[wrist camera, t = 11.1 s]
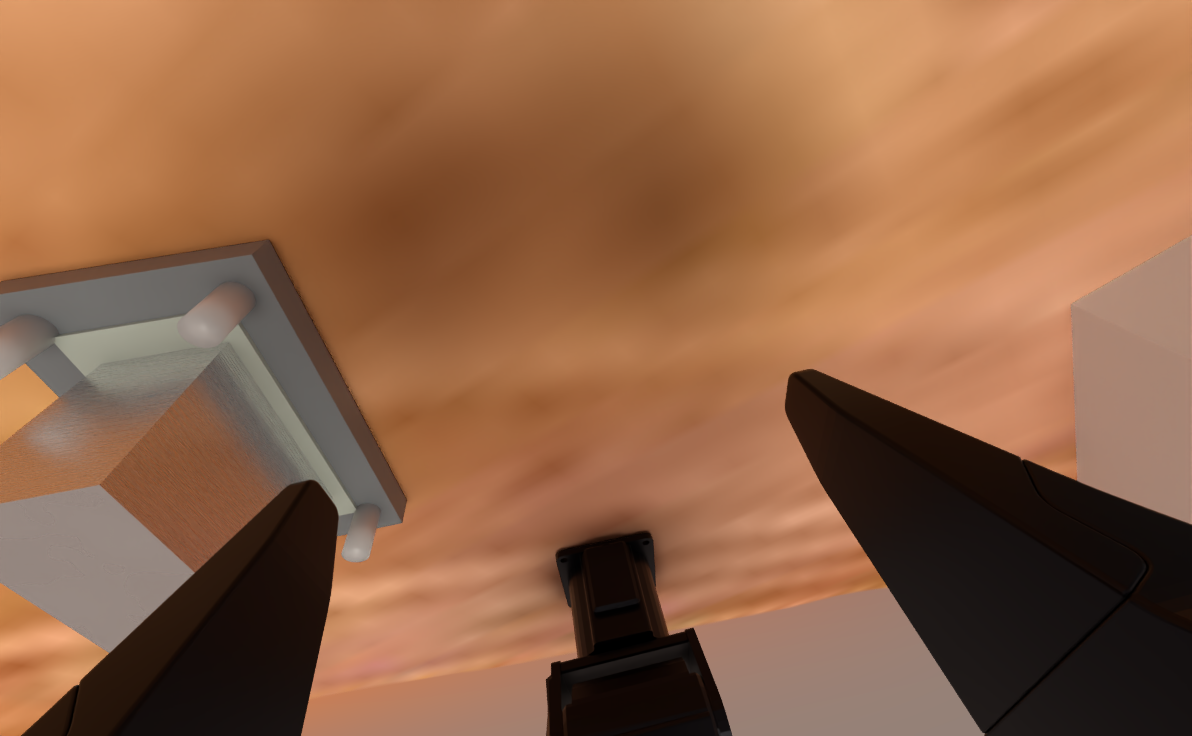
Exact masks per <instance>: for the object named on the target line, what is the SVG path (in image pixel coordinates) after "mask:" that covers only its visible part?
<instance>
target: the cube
mask: <svg viewBox="0 0 1192 736" xmlns="http://www.w3.org/2000/svg"><path fill="white" fill-rule="evenodd" d="M1071 320H1072V348H1073V376H1074V403H1075V431H1076V458H1077V481H1079V482H1081V483H1084V484H1086V485H1088V486H1091V487H1093V488H1096V489H1098V490H1101V491H1104V492H1106V493H1109V494H1111V495H1114V496H1117V497H1119V498H1122V499H1125V500H1127V501H1130V502H1133V503H1135V504H1138V505H1141V506H1143V507H1146V508H1148V509H1151V510H1154V511H1157V512H1159V513H1162V514H1165V515H1168V516H1170V517H1173V518H1176V519H1179V520H1181V521H1184V522H1187V523H1189V524H1192V235H1191V236H1189V237H1187V238H1186V239H1184V240H1182V241H1180V242H1179V243H1177V244H1175V245H1173V246H1172V247H1170V248H1168V249H1166V250H1165V251H1163V252H1161V253H1159V254H1158V255H1156V256H1154V257H1152V258H1151V259H1149V260H1147V261H1145V262H1144V263H1142V264H1140V265H1138V266H1137V267H1135V268H1133V269H1131V270H1130V271H1128V272H1126V273H1124V274H1123V275H1121V276H1119V277H1117V278H1116V279H1114V280H1112V281H1110V282H1109V283H1107V284H1105V285H1103V286H1102V287H1100V288H1098V289H1096V290H1095V291H1093V292H1091V293H1089V294H1088V295H1086V296H1084V297H1082V298H1081V299H1079V300H1077V301H1075V302H1074V303H1072V304H1071Z"/></svg>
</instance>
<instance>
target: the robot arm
mask: <svg viewBox="0 0 1192 736" xmlns="http://www.w3.org/2000/svg"><path fill="white" fill-rule="evenodd" d="M785 411H786V415H787V417H788V419H789V421H790V423H791V425H792V427H793V429H794V431H795V433H796V435H797V437H798V439H799V441H800V443H801V445H802V447H803V449H804V451H805V453H806V455H807V457H808V459H809V461H810V463H811V465H812V467H813V469H814V471H815V473H816V475H817V477H818V479H819V481H820V483H821V484H822V486H823V488H824V489H825V491H826V493H827V494H828V496H829V497H830V499H831V500H832V502H833V503H834V505H835V506H836V508H837V510H838V511H839V513H840V514H841V516H842V517H843V519H844V520H845V522H846V523H847V525H848V527H849V528H850V530H851V531H852V533H853V534H854V536H855V537H856V539H857V540H858V542H859V543H860V545H861V547H862V548H863V550H864V551H865V553H866V554H867V556H868V557H869V559H870V560H871V562H872V564H873V565H874V567H875V568H876V570H877V571H878V573H879V574H880V576H881V577H882V579H883V580H884V582H885V584H886V585H887V587H888V588H889V589H890V591H891V593H892V594H893V596H894V597H895V599H896V600H897V602H898V604H899V605H900V607H901V608H902V610H903V611H904V613H905V614H906V616H907V617H908V619H909V621H910V622H911V624H912V625H913V627H914V628H915V630H916V631H917V633H918V634H919V636H920V637H921V639H922V640H923V642H924V644H925V645H926V647H927V648H928V650H929V651H930V653H931V654H932V656H933V658H934V659H935V661H936V662H937V664H938V665H939V667H940V668H941V670H942V671H943V673H944V675H945V676H946V678H947V679H948V681H949V682H950V684H951V685H952V687H953V688H954V690H955V691H956V693H957V695H958V696H959V698H960V699H961V701H962V702H963V704H964V705H965V707H966V708H967V710H968V711H969V713H970V715H971V716H972V718H973V719H974V721H975V722H976V724H977V725H978V727H979V728H980V730H981V731H982V732H983V733H985V735H984V736H1192V524H1189V523H1187V522H1184V521H1181V520H1179V519H1176V518H1173V517H1170V516H1168V515H1165V514H1162V513H1159V512H1157V511H1154V510H1151V509H1148V508H1146V507H1143V506H1141V505H1138V504H1135V503H1133V502H1130V501H1127V500H1125V499H1122V498H1119V497H1117V496H1114V495H1111V494H1109V493H1106V492H1104V491H1101V490H1098V489H1096V488H1093V487H1091V486H1088V485H1086V484H1084V483H1081V482H1079V481H1076V480H1074V479H1071V478H1069V477H1066V476H1064V475H1062V474H1059V473H1057V472H1054V471H1052V470H1050V469H1047V468H1045V467H1043V466H1040V465H1038V464H1035V463H1033V462H1031V461H1028V460H1021V458H1020V457H1019V456H1016V455H1014V454H1012V453H1009V452H1007V451H1005V450H1002V449H1000V448H998V447H995V446H993V445H991V444H988V443H986V442H983V441H981V440H979V439H976V438H974V437H972V436H969V435H967V434H965V433H962V432H960V431H958V430H955V429H953V428H951V427H948V426H946V425H944V424H941V423H939V422H936V421H934V420H932V419H929V418H927V417H925V416H922V415H920V414H918V413H915V412H913V411H911V410H908V409H906V408H904V407H901V406H899V405H897V404H894V403H892V402H890V401H887V400H885V399H882V398H880V397H878V396H875V395H873V394H871V393H868V392H866V391H864V390H861V389H859V388H857V387H854V386H852V385H850V384H847V383H845V382H843V381H840V380H838V379H835V378H833V377H831V376H828V375H826V374H824V373H821V372H819V371H817V370H814V369H807V370H802V371H798V372H794V373H792V374H791V375H790V376H789V379H788V385H787V393H786V400H785ZM338 522H339V515H338V510H337V507H336V506H335V504H334V503H333V501H332V500H331V499H330V497H329V496H328V495H327V493H326V492H325V491H324V489H323V488H322V487H321V485H320V484H319V483H318V482H317V481H315V480H305V481H300V482H296V483H292V484H290V485H288V486H286V487H285V488H284V489H283V490H282V491H281V492H280V493H279V494H278V495H277V496H276V497H275V498H274V499H272V500H271V501H270V502H269V503H268V504H267V505H266V506H265V507H264V508H263V509H262V510H261V511H260V512H259V513H258V514H257V515H256V516H254V517H253V518H252V519H251V520H250V521H249V522H248V523H247V524H246V525H245V526H244V527H243V528H242V529H241V530H240V531H239V532H237V533H236V534H235V535H234V536H233V537H232V538H231V539H230V540H229V541H228V542H227V543H226V544H225V545H224V546H223V547H222V548H220V549H219V550H218V551H217V552H216V553H215V554H214V555H213V556H212V557H211V558H210V559H209V560H208V561H207V562H206V563H205V564H203V565H202V566H201V567H200V568H199V569H198V570H197V571H196V572H195V573H194V574H193V575H192V576H191V577H190V578H189V579H188V580H186V581H185V582H184V583H183V584H182V585H181V586H180V587H179V588H178V589H177V590H176V591H175V592H174V593H173V594H172V595H171V596H169V597H168V598H167V599H166V600H165V601H164V602H163V603H162V604H161V605H160V606H159V607H158V608H157V609H156V610H155V611H154V612H152V613H151V614H150V615H149V616H148V617H147V618H146V619H145V620H144V621H143V622H142V623H141V624H140V625H139V626H138V627H137V628H135V629H134V630H133V631H132V632H131V633H130V634H129V635H128V636H127V637H126V638H125V639H124V640H123V641H122V642H121V643H120V644H118V645H117V646H116V647H115V648H114V649H113V650H112V651H111V652H110V653H109V654H108V655H107V656H106V657H105V658H104V659H103V660H101V661H100V662H99V663H98V664H97V665H96V666H95V667H94V668H93V669H92V670H91V671H90V672H89V673H88V674H87V675H86V676H84V677H83V678H82V679H81V681H80V684H79V685H76V686H74V687H73V688H72V689H70V690H69V691H68V692H67V693H66V694H65V695H64V696H63V697H62V698H61V699H60V700H59V701H58V702H57V703H56V704H55V705H54V706H53V707H52V708H50V709H49V710H48V711H47V712H46V713H45V714H44V715H43V716H42V717H41V718H40V719H39V720H38V721H36V722H35V723H34V724H33V725H32V726H31V727H30V728H29V729H28V730H27V731H26V732H25V733H23V734H22V735H21V736H301V733H302V728H303V723H304V719H305V714H306V710H307V705H308V701H309V696H310V691H311V687H312V682H313V677H314V673H315V668H316V663H317V659H318V654H319V650H320V645H321V640H322V636H323V631H324V626H325V622H326V617H327V613H328V607H329V602H330V596H331V589H332V580H333V571H334V561H335V551H336V541H337V531H338ZM556 562H557V566H558V570H559V573H560V577H561V581H562V584H563V588H564V592H565V595H566V599H567V603H568V606H569V607H571V608H572V616H573V624H574V632H575V640H576V648H577V655H578V658H577V659H573V660H569V661H565V662H560V661H558V662H554V663H551V676H549V677H548V678H547V679H546V688H547V701H548V719H547V732H546V736H732V733H731V729H730V726H729V722H728V719H727V715H726V712H725V709H724V706H723V703H722V700H721V697H720V694H719V692H718V689H717V686H716V684H715V681H714V679H713V676H712V674H711V671H710V669H709V666H708V663H707V661H706V658H705V656H704V653H703V651H702V648H701V646H700V643H699V641H698V638H697V635H696V633H695V630H694V628H690V629H686V630H685V632H681V633H677V634H673V635H669V633H668V630H667V626H666V623H665V619H664V616H663V612H662V609H661V605H660V602H659V598H658V595H657V591H656V588H655V587H656V580H655V563H654V545H653V539H652V536H651V534H650V533H642V534H637V535H633V536H628V537H623V538H619V539H614V540H609V541H605V542H600V543H595V544H591V545H586V546H581V547H577V548H572V549H567V550H563V551H560V552H558V553H557V554H556Z"/></svg>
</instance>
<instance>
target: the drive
mask: <svg viewBox="0 0 1192 736" xmlns="http://www.w3.org/2000/svg"><path fill="white" fill-rule="evenodd" d="M305 480H315V481H317V482H318V483H319V484H320V485H321V487H322V488H323V489H324V491H325V492H326V493H327V495H328V496H329V497H330V499H331V500H332V498H333V497H332V496H331V494H330V493H329V491H328V490H327V488H326V487H325V485H324V484H323V482H322V481H321V479H320V478H319V476H318V475H317V473H316V472H315V470H314V469H313V467H312V466H311V464H310V463H309V461H308V460H307V458H306V457H305V455H304V454H303V452H302V451H301V449H300V448H299V446H298V445H297V443H296V442H295V440H294V439H293V437H292V436H291V434H290V433H289V431H288V430H287V428H286V427H285V425H284V424H283V422H282V421H281V419H280V418H279V416H278V415H277V413H276V412H275V410H274V409H273V407H272V406H271V404H270V403H269V401H268V400H267V398H266V397H265V395H264V394H263V392H262V391H261V389H260V388H259V386H258V385H257V383H256V382H255V380H254V379H253V377H252V376H251V374H250V373H249V371H248V370H247V368H246V367H245V365H244V364H243V362H242V361H241V359H240V358H239V356H238V355H237V353H236V352H235V350H234V349H233V347H232V346H231V344H230V343H229V342H225V343H220V344H219V345H217V346H215V347H212V348H201V347H196V348H190V349H184V350H178V351H173V352H167V353H161V354H155V355H149V356H143V357H137V358H132V359H126V360H120V361H114V362H108V363H102V364H100V365H99V366H98V367H97V368H95V369H94V370H93V371H92V372H90V373H89V374H88V375H87V376H85V377H84V378H83V379H82V380H80V381H79V382H78V383H77V384H76V385H74V386H73V387H72V388H71V389H69V390H68V391H67V392H66V393H64V394H63V395H62V396H61V397H59V398H58V399H57V400H56V401H54V402H53V403H52V404H51V405H49V406H48V407H47V408H46V409H44V410H43V411H42V412H41V413H39V414H38V415H37V416H36V417H35V418H33V419H32V420H31V421H30V422H28V423H27V424H26V425H25V426H23V427H22V428H21V429H20V430H18V431H17V432H16V433H15V434H13V435H12V436H11V437H10V438H8V439H7V440H6V441H5V442H3V443H2V444H1V445H0V583H2V584H3V585H5V586H6V587H8V588H9V589H11V590H12V591H14V592H16V593H17V594H19V595H20V596H22V597H23V598H25V599H26V600H28V601H30V602H31V603H33V604H34V605H36V606H37V607H39V608H40V609H42V610H44V611H45V612H47V613H48V614H50V615H51V616H53V617H54V618H56V619H58V620H59V621H61V622H62V623H64V624H65V625H67V626H68V627H70V628H71V629H73V630H75V631H76V632H78V633H79V634H81V635H82V636H84V637H85V638H87V639H89V640H90V641H92V642H93V643H95V644H96V645H98V646H99V647H101V648H103V649H104V650H106V651H107V652H109V653H110V652H111V651H112V650H113V649H114V648H115V647H116V646H117V645H118V644H120V643H121V642H122V641H123V640H124V639H125V638H126V637H127V636H128V635H129V634H130V633H131V632H132V631H133V630H134V629H135V628H137V627H138V626H139V625H140V624H141V623H142V622H143V621H144V620H145V619H146V618H147V617H148V616H149V615H150V614H151V613H152V612H154V611H155V610H156V609H157V608H158V607H159V606H160V605H161V604H162V603H163V602H164V601H165V600H166V599H167V598H168V597H169V596H171V595H172V594H173V593H174V592H175V591H176V590H177V589H178V588H179V587H180V586H181V585H182V584H183V583H184V582H185V581H186V580H188V579H189V578H190V577H191V576H192V575H193V574H194V573H195V572H196V571H197V570H198V569H199V568H200V567H201V566H202V565H203V564H205V563H206V562H207V561H208V560H209V559H210V558H211V557H212V556H213V555H214V554H215V553H216V552H217V551H218V550H219V549H220V548H222V547H223V546H224V545H225V544H226V543H227V542H228V541H229V540H230V539H231V538H232V537H233V536H234V535H235V534H236V533H237V532H239V531H240V530H241V529H242V528H243V527H244V526H245V525H246V524H247V523H248V522H249V521H250V520H251V519H252V518H253V517H254V516H256V515H257V514H258V513H259V512H260V511H261V510H262V509H263V508H264V507H265V506H266V505H267V504H268V503H269V502H270V501H271V500H272V499H274V498H275V497H276V496H277V495H278V494H279V493H280V492H281V491H282V490H283V489H284V488H285V487H286V486H288V485H290V484H292V483H296V482H300V481H305Z"/></svg>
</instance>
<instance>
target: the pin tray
mask: <svg viewBox="0 0 1192 736" xmlns="http://www.w3.org/2000/svg"><path fill="white" fill-rule="evenodd" d="M225 342H229V343H230V344H231V346H232V347H233V349H234V350H235V352H236V353H237V355H238V356H239V358H240V359H241V361H242V362H243V364H244V365H245V367H246V368H247V370H248V371H249V373H250V374H251V376H252V377H253V379H254V380H255V382H256V383H257V385H258V386H259V388H260V389H261V391H262V392H263V394H264V395H265V397H266V398H267V400H268V401H269V403H270V404H271V406H272V407H273V409H274V410H275V412H276V413H277V415H278V416H279V418H280V419H281V421H282V422H283V424H284V425H285V427H286V428H287V430H288V431H289V433H290V434H291V436H292V437H293V439H294V440H295V442H296V443H297V445H298V446H299V448H300V449H301V451H302V452H303V454H304V455H305V457H306V458H307V460H308V461H309V463H310V464H311V466H312V467H313V469H314V470H315V472H316V473H317V475H318V476H319V478H320V479H321V481H322V482H323V484H324V485H325V487H326V488H327V490H328V491H329V493H330V494H331V496H332V497H333V498H332V501H333V503H334V504H335V506H336V507H337V510H338V515H339V522H338V531H337V536H341V535H346V534H347V538H346V541H345V544H344V547H343V551H342V557H343V558H344V559H345V560H347V561H350V562H362V561H365V560H367V559H368V558H369V556H370V552H371V548H372V544H373V540H374V536H375V532H376V528H380V527H385V526H390V525H395V524H400V523H402V522H403V517H404V512H405V507H406V502H407V500H406V498H405V496H404V494H403V492H402V491H401V489H400V487H399V485H398V483H397V481H396V479H395V477H394V475H393V473H392V472H391V470H390V468H389V466H388V464H387V462H386V460H385V458H384V456H383V455H382V453H381V451H380V449H379V447H378V445H377V443H376V441H375V439H374V438H373V436H372V434H371V432H370V430H369V428H368V426H367V424H366V422H365V420H364V419H363V417H362V415H361V413H360V411H359V409H358V407H357V405H356V403H355V402H354V400H353V398H352V396H351V394H350V392H349V390H348V388H347V386H346V384H345V383H344V381H343V379H342V377H341V375H340V373H339V371H338V369H337V367H336V366H335V364H334V362H333V360H332V358H331V356H330V354H329V352H328V350H327V349H326V347H325V345H324V343H323V341H322V339H321V337H320V335H319V333H318V331H317V330H316V328H315V326H314V324H313V322H312V320H311V318H310V316H309V314H308V313H307V311H306V309H305V307H304V305H303V303H302V301H301V299H300V297H299V295H298V294H297V292H296V290H295V288H294V286H293V284H292V282H291V280H290V278H289V277H288V275H287V273H286V271H285V269H284V267H283V265H282V263H281V261H280V260H279V258H278V256H277V254H276V252H275V250H274V248H273V246H272V244H271V242H270V241H269V240H264V241H257V242H251V243H245V244H238V245H232V246H225V247H219V248H213V249H206V250H200V251H193V252H187V253H181V254H174V255H168V256H161V257H155V258H149V259H142V260H136V261H129V262H123V263H117V264H110V265H104V266H97V267H91V268H85V269H78V270H72V271H65V272H59V273H53V274H46V275H40V276H33V277H27V278H21V279H14V280H8V281H2V282H0V380H1V379H2V378H4V377H5V376H7V375H8V374H10V373H11V372H13V371H14V370H16V369H17V368H19V367H20V366H21V365H23V364H24V363H26V364H27V366H28V367H29V368H30V369H31V370H32V371H33V372H34V373H35V374H36V375H37V376H38V377H39V378H40V379H41V380H42V381H43V382H44V383H45V384H46V385H47V386H48V387H49V388H50V389H51V390H52V391H53V392H54V393H55V394H56V395H57V396H58V397H61V396H62V395H63V394H64V393H66V392H67V391H68V390H69V389H71V388H72V387H73V386H74V385H76V384H77V383H78V382H79V381H80V380H82V379H83V378H84V377H85V376H87V375H88V374H89V373H90V372H92V371H93V370H94V369H95V368H97V367H98V366H99V365H100V364H102V363H108V362H114V361H120V360H126V359H132V358H137V357H143V356H149V355H155V354H161V353H167V352H173V351H178V350H184V349H190V348H196V347H201V348H212V347H215V346H217V345H219V344H220V343H225Z"/></svg>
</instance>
